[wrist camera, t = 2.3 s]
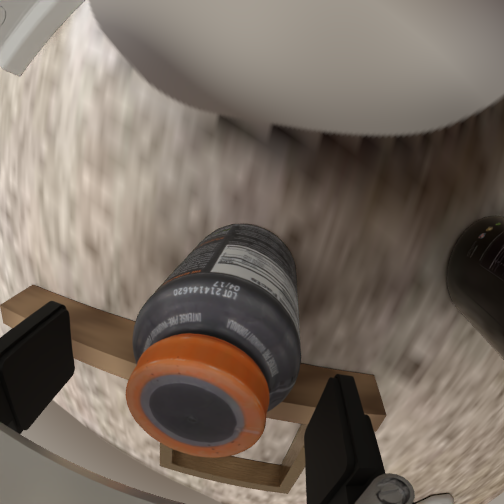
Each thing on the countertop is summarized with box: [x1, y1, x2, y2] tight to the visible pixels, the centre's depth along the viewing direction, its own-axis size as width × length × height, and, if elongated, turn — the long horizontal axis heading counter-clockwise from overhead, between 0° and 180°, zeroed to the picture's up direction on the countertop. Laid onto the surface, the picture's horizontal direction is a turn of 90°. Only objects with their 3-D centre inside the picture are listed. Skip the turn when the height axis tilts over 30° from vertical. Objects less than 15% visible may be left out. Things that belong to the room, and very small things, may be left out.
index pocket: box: [160, 424, 308, 494], centre depth 21 cm, size 11×11×2 cm
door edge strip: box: [0, 285, 386, 432], centre depth 18 cm, size 26×2×4 cm, turn 78°
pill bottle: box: [126, 224, 301, 458], centre depth 13 cm, size 6×6×11 cm
